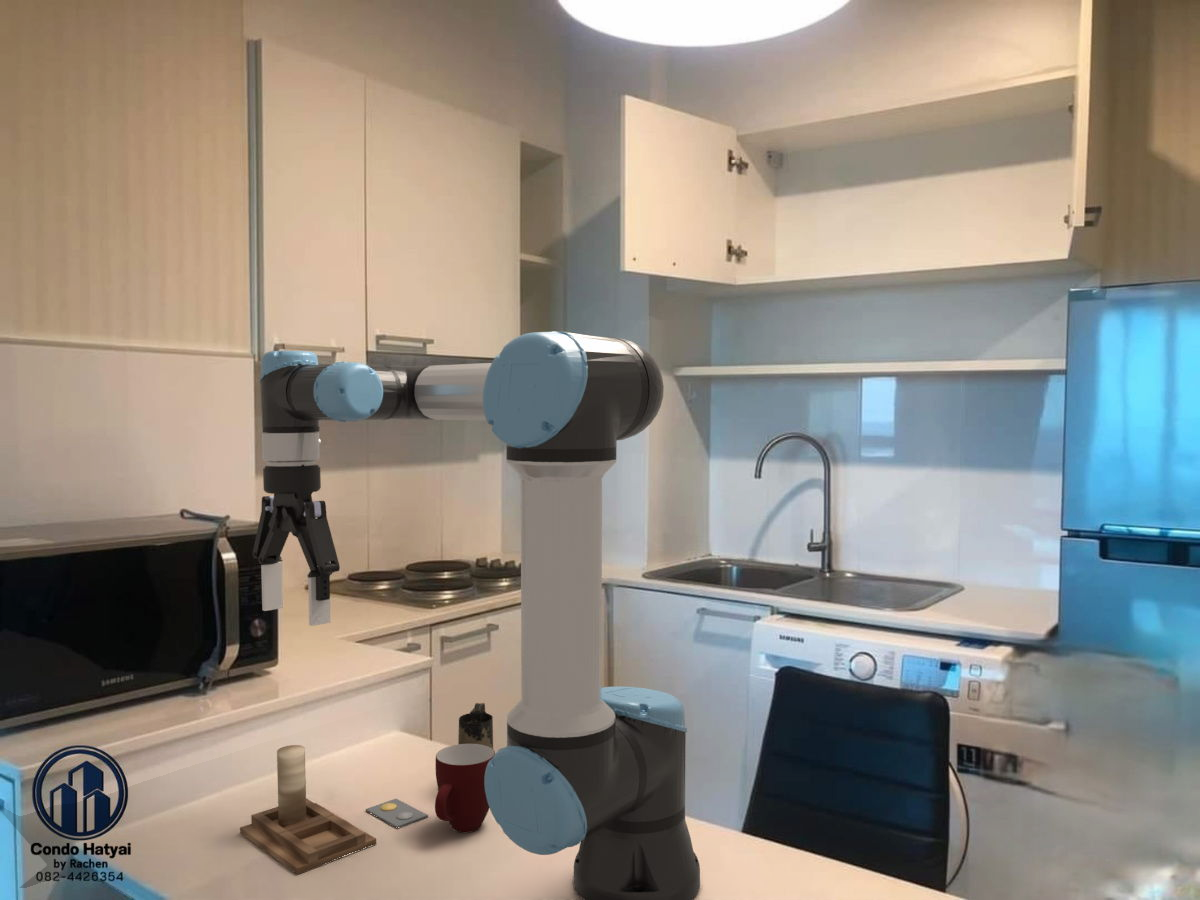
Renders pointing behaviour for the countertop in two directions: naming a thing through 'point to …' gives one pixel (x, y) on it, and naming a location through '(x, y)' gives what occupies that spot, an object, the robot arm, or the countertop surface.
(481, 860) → the countertop surface
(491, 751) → the mug
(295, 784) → the peg
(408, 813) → the key tile
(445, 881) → the countertop surface
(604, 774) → the robot arm
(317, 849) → the board
